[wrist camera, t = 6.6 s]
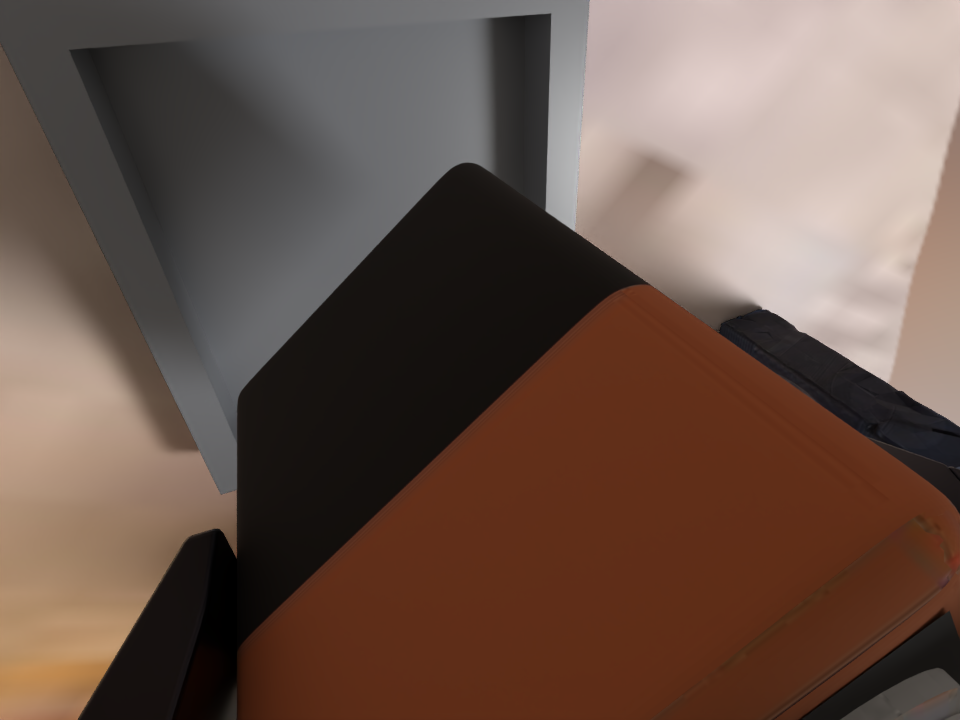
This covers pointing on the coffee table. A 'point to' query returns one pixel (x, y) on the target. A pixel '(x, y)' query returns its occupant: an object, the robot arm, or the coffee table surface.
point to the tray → (283, 151)
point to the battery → (567, 504)
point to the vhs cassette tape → (845, 387)
